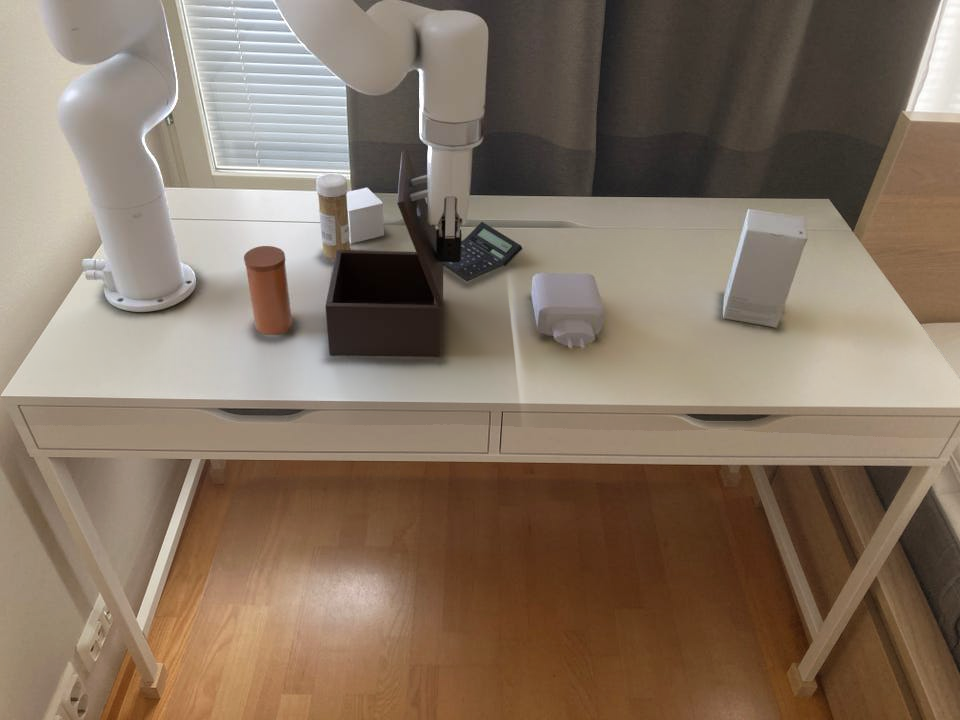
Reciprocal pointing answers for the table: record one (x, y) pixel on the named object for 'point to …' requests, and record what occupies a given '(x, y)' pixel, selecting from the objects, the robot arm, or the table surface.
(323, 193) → the sprinkles bottle
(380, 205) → the white cube
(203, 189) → the table surface
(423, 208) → the lid
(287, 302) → the tin
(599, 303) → the charger
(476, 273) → the calculator
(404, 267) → the dark wooden planter box
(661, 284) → the table surface
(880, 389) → the table surface
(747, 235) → the cosmetic box
